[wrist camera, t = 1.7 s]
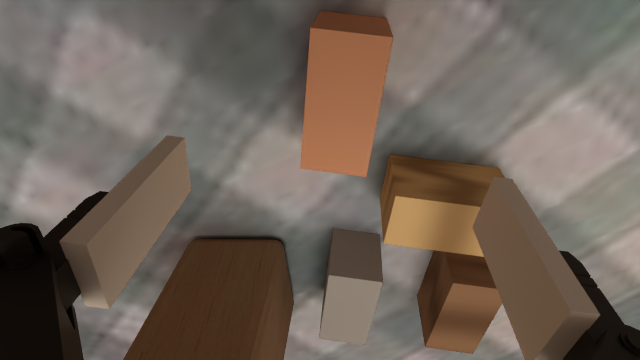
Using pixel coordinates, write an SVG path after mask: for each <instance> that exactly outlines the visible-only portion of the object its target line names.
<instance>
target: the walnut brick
mask: <svg viewBox="0 0 640 360" xmlns="http://www.w3.org/2000/svg"><path fill="white" fill-rule="evenodd" d="M417 299H418V305H419V312H420V318H421V324H422V331H423V337H424V343H425V347H428V348H435V349H442V350H449V351H456V352H464V353H471V354H473V353H474V351H475V349H476V348H477V346H478V344H479V342H480V341H481V339H482V337H483V336H484V334H485V332H486V330H487V329H488V327H489V325H490V323H491V322H492V320H493V318H494V316H495V315H496V313H497V311H498V309H499V308H500V306H501V304H502V300H501V298H500V295H499V293H498V290H497V288H496V285H495V283H494V280H493V278H492V275H491V273H490V270H489V268H488V265H487V263H486V260H485V258H484V257H481V256H474V255H466V254H459V253H451V252H444V251H436V250H434V252H433V254H432V257H431V260H430V263H429V265H428V268H427V271H426V273H425V276H424V279H423V282H422V284H421V287H420V290H419V292H418V295H417Z"/></svg>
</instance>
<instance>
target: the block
mask: <svg viewBox="0 0 640 360" xmlns="http://www.w3.org/2000/svg"><path fill="white" fill-rule="evenodd" d="M293 305H294V301H293V296H292V290H291V284H290V279H289V273H288V267H287V262H286V256H285V251H284V247H283V245H282V243H281V242H280V241H277V240H254V239H197V240H194V241H192V242H191V243H190V244H189V245H188V247H187V248H186V250H185V252H184V254H183V255H182V257H181V259H180V261H179V262H178V264H177V266H176V268H175V269H174V271H173V273H172V275H171V276H170V278H169V280H168V282H167V283H166V285H165V287H164V289H163V291H162V292H161V294H160V296H159V298H158V299H157V301H156V303H155V305H154V306H153V308H152V310H151V312H150V313H149V315H148V317H147V319H146V320H145V322H144V324H143V326H142V328H141V329H140V331H139V333H138V335H137V336H136V338H135V340H134V342H133V343H132V345H131V347H130V349H129V350H128V352H127V354H126V356H125V357H124V359H123V360H283V359H284V354H285V348H286V343H287V337H288V332H289V326H290V321H291V316H292V310H293Z"/></svg>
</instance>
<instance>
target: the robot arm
mask: <svg viewBox="0 0 640 360" xmlns="http://www.w3.org/2000/svg"><path fill="white" fill-rule="evenodd" d="M190 191H191V184H190V177H189V169H188V161H187V153H186V145H185V138H183V137H175V136H168V135H167V136H166V137H165V138H164V139H163V140H162V141H161V142H160V143H159V144H158V145H157V146H156V147H155V148H154V149H153V150H152V151H151V152H150V153H149V154H148V155H147V156H146V157H145V158H144V159H142V160H141V161H140V162H139V163H138V164H137V165H136V166H135V167H134V168H133V169H132V170H131V171H130V172H129V173H128V174H127V175H126V176H125V177H124V178H123V179H122V180H121V181H120V182H119V183H118V184H117V185H116V186H115V187H114V188H113V189H112V190H111V191H110V192H103V191H100V192H98V193H96V194H94V195H92V196H90V197H88V198H86V199H85V200H84V201H83V202H82V203H81V204H79V205H78V206H77V207H76V208H75V210H73V211H72V212H71V213H70V214H69V215H67V218H64V219H63V220H62V221H61V222H60V223H59V224H58V225H57V226H56V227H54V228H53V229H52V230H51V231H50V232H49V233H48V234H47V235H46V236H45V237H44V238H43V236H42V234H41V231H40V230H39V228H38V226H36V225H33V224H28V223H19V224H13V225H9V226H6V227H3V228H0V360H84V359H83V353H82V347H81V342H80V336H79V330H78V324H77V319H76V313H75V309H74V307H73V302H74V301H75V300H76V299H77V297H78V296H79V295H80V294H81V296H82V298H83V301H84V303H85V306H91V307H98V308H105V309H110V307H111V306H112V304H113V303H114V301H115V300H116V299H117V297H118V296H119V294H120V293H121V291H122V290H123V288H124V287H125V286H126V284H127V283H128V281H129V280H130V278H131V277H132V275H133V274H134V272H135V271H136V270H137V268H138V267H139V265H140V264H141V262H142V261H143V259H144V258H145V257H146V255H147V254H148V252H149V251H150V249H151V248H152V246H153V245H154V244H155V242H156V241H157V239H158V238H159V236H160V235H161V233H162V232H163V231H164V229H165V228H166V226H167V225H168V223H169V222H170V220H171V219H172V218H173V216H174V215H175V213H176V212H177V210H178V209H179V207H180V206H181V204H182V203H183V202H184V200H185V199H186V197H187V196H188V194H189V193H190ZM472 228H473V230H474V233H475V235H476V238H477V240H478V243H479V245H480V248H481V250H482V253H483V255H484V258H485V260H486V263H487V265H488V268H489V270H490V273H491V275H492V278H493V280H494V283H495V285H496V288H497V290H498V293H499V295H500V298H501V300H502V303H503V305H504V308H505V310H506V313H507V315H508V318H509V320H510V323H511V325H512V328H513V330H514V333H515V335H516V338H517V340H518V343H519V345H520V348H521V350H522V353H523V356H524V358H525V360H640V331H639V330H637V329H635V328H633V327H631V326H628V325H624V323H623V322H622V320H621V319H620V317H619V316H618V315H617V313H616V312H615V310H614V309H613V307H612V306H611V304H610V303H609V302H608V300H607V299H606V297H605V296H604V294H603V293H602V292H601V290H600V289H599V288H597V284H596V283H595V282H594V280H593V279H592V278H590V274H589V273H588V272H587V270H586V269H585V267H584V266H583V264H582V263H581V262H580V261H578V260H577V259H576V258H575V257H574V256H573V255H571V254H570V253H569V252H566V251H559V250H558V249H557V247H556V246H555V244H554V243H553V241H552V240H551V238H550V237H549V235H548V234H547V232H546V230H545V229H544V227H543V226H542V224H541V223H540V221H539V220H538V218H537V217H536V215H535V214H534V212H533V210H532V209H531V207H530V206H529V204H528V203H527V201H526V200H525V198H524V197H523V195H522V194H521V192H520V191H519V189H518V187H517V186H516V184H515V183H514V181H513V180H512V179H507V178H500V177H493V179H492V182H491V184H490V186H489V189H488V191H487V193H486V196H485V198H484V201H483V203H482V205H481V208H480V210H479V212H478V215H477V217H476V219H475V222H474V224H473V227H472Z"/></svg>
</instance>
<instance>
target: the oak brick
mask: <svg viewBox="0 0 640 360" xmlns="http://www.w3.org/2000/svg"><path fill="white" fill-rule="evenodd" d="M493 177H500V178H505V177H504V175H503V174H502V172H501V170H500V169H499V168H493V167H485V166H477V165H469V164H462V163H454V162H446V161H438V160H430V159H422V158H414V157H406V156H398V155H390V157H389V161H388V165H387V170H386V174H385V179H384V183H383V187H382V192H381V196H380V204H381V217H382V231H383V244H391V245H399V246H406V247H414V248H421V249H429V250H436V251H444V252H451V253H459V254H466V255H474V256H481V257H484V255H483V253H482V250H481V248H480V245H479V243H478V240H477V238H476V235H475V233H474V230H473V228H472V227H473V224H474V222H475V219H476V217H477V215H478V212H479V210H480V208H481V205H482V203H483V201H484V198H485V196H486V193H487V191H488V189H489V186H490V184H491V182H492V179H493Z"/></svg>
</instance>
